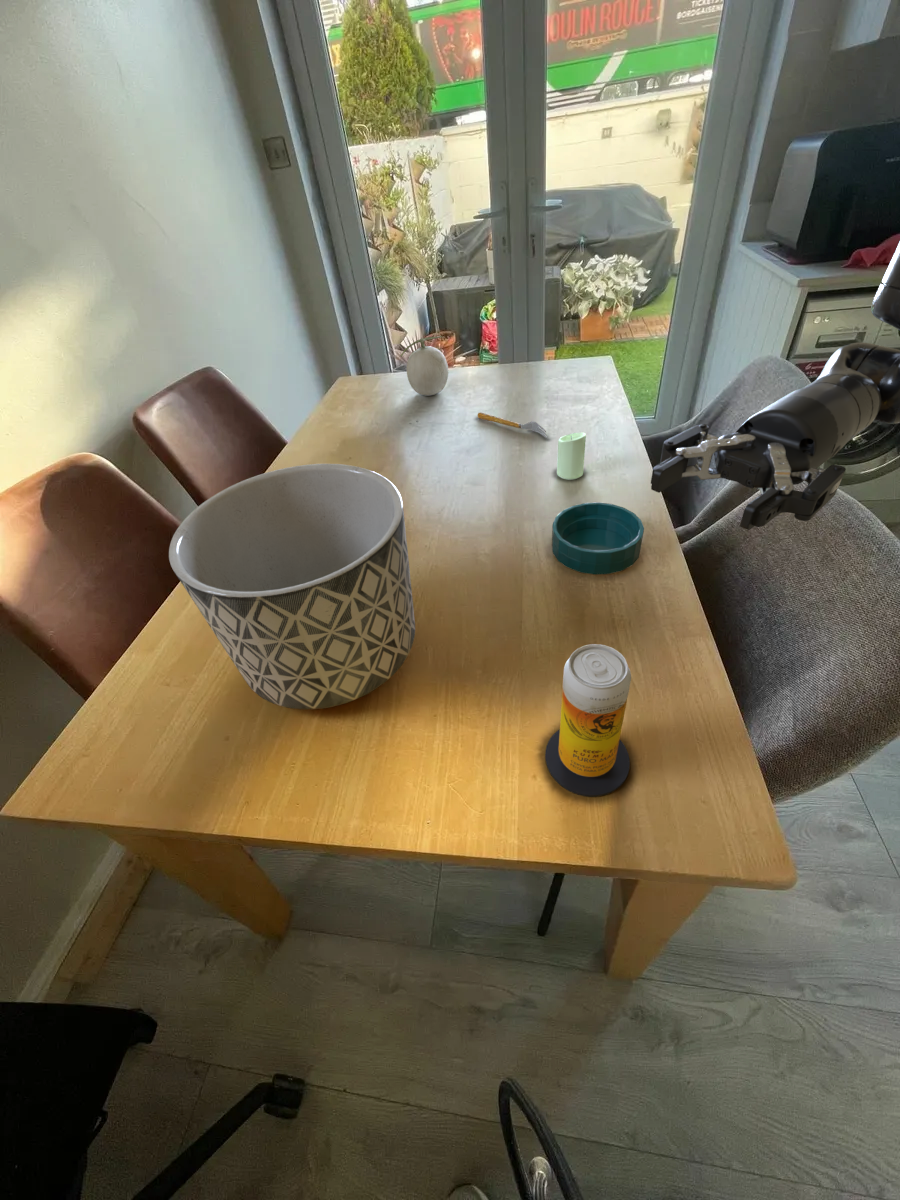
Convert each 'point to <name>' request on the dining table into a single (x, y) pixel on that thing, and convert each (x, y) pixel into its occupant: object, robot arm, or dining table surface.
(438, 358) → the fruit
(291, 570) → the planter
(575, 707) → the beer can
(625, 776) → the coaster
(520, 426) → the fork
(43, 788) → the dining table surface
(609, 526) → the bowl
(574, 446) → the candle
